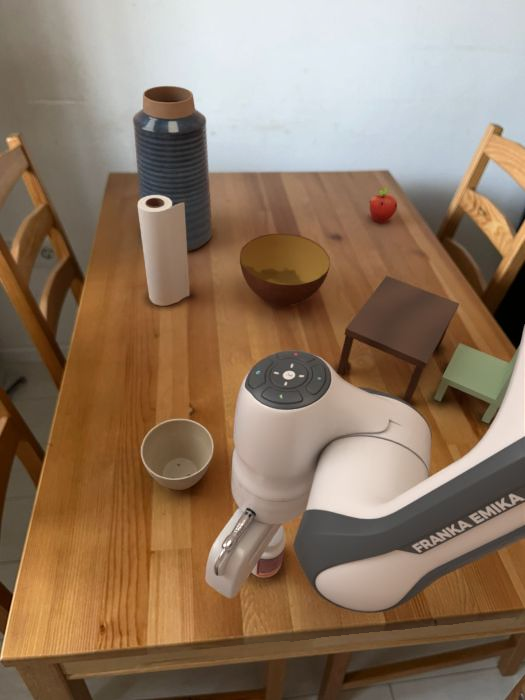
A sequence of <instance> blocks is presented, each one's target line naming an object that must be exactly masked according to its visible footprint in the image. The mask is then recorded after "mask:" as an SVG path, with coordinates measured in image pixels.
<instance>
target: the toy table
mask: <svg viewBox="0 0 525 700" xmlns="http://www.w3.org/2000/svg"><path fill="white" fill-rule="evenodd" d="M459 306H460V303H459V302H457V301H454V300H451V299H448V298H446V297H443V296H440V295H438V294H436V293H433V292H430V291H428V290H425V289H423V288H420V287H418V286H414V285H412V284H409V283H408V282H407V283H406V282H404V281H402V280H399V279H397V278H395V277H392V276H389V275H386V276H385V277H384V278H383V280H382V281H380V283H379V285H378V286H377V287H376V288H375V290H374V291H373V292H372V293H371V295H370V296H369V297H368V299H367V300H366V301H365V303H364V304H363V305H362V306H361V307H360V309H359V310H358V312H357V313H356V314H355V315H354V316H353V318H352V319H351V321H350V322H349V323H348V325H347V326H346V327H345V330H344V333H343V335H344V340H343V346H342V350H341V354H340V357H339V362H338V367H337V371H336V373H337V374H338V375H339V376H340V375H341V376H344V375H345V373H346V371H347V367H348V363H349V360H350V355H351V351H352V347H353V343H354V340H355V341H357V342H360V343H362V344H365V345H367V346H369V347H371V348H373V349H377V350H378V351H381V352H383V353H386V354H387V355H390V356H392V357H394V358H397V359H399V360H401V361H404V362H406V363H408V364H410V365H413V366H415V367H414V370H413V372H412V374H411V377H410V380H409V382H408V385H407V388H406V390H405V392H404V395H403V398H402V400H404V401H406V402H407V403H409V404H410V403H411V401H412V399H413V396H414V393H415V391H416V389H417V386H418V384H419V381H420V379H421V376H422V374H423V372H424V370H425V369H426V366H427V365H428V363H429V361H430V360H431V357H432V356H433V354H434V352H435V351H436V352H439V349H440V348H441V345H442V343H443V340H444V339H445V336H446V334H447V331H448V328H449V326H450V324H451V321H452V319H453V318H454V316H455V314H456V312H457V311H458V309H459Z"/></svg>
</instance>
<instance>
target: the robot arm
mask: <svg viewBox="0 0 525 700" xmlns="http://www.w3.org/2000/svg"><path fill="white" fill-rule="evenodd" d="M519 345H520V347H519V346H518V347H519V352H518V356H517V359H516V363H515V367H514V370H513V373H512V377H511V380H510V383H509V386H508V389H507V391H506V394H505V397H504V399H503V402H502V404H501V407H500V408H498V411H497V412H496V414H495V417H494V419H493V420H492V423H491V424H490V426H489V427H488V429H487V430H486V432H485V433H484V434H483V436H482V437H481V439H480V440H479V441H478V442H477V444H476V445H475V446H474V447H473V448H472V449H470V450H469V451H468V452H467V453H466V454H465V455H464V456H461V458H459V459H457V460H455V461H453V462H452V463H450V464H449V465H447V466H446V467H443V468H442V469H441V470H439V471H438V472H435V473H434V474H432V475H431V473H430V472H431V459H432V458H431V456H432V454H431V453H432V435H433V434H432V429H431V427H430V425H429V423H428V421H427V419H426V418H425V417H424V416H423V414H422V413H421V412H420V411H419V410H418V409H416V407H414V406H413V405H412V404H410V403H407V402H406V401H404V400H403V398H400V397H399V396H395V395H392V394H389V393H387V392H384V391H380V390H377V389H372V388H368V387H359V386H355V385H353V384H351V383H350V382H348V381H346V380H345V379H343V378H342V377H341V376H340V374H338V373H337V371H336V370H335V369H334V368H333V367H332V365H330V363H328V362H327V361H326V360H325V359H323V358H322V357H320V356H318V355H316V354H314V353H311V352H308V351H304V350H297V349H294V350H292V349H289V350H282V351H277V352H273V353H271V354H270V355H267V356H265V357H264V358H262V359H261V360H259V361H258V362H256V364H254V365H253V366H252V367H251V369H250V370H249V371H248V372H247V374H246V375H245V376H244V378H243V381H242V383H241V385H240V388H239V391H238V394H237V398H236V404H235V409H234V420H233V432H232V433H233V434H232V435H233V436H232V437H233V445H234V449H233V451H232V452H233V453H232V458H231V483H230V485H231V486H230V487H231V488H230V489H231V494H232V497H233V499H234V502H235V503H236V506H237V509H236V510H235V512H234V513H233V514H232V516H231V518H229V520H228V522H227V523H226V524H225V525H224V527H223V529H221V531H220V532H219V534H218V536H217V537H216V538H215V540H214V541H213V544H212V545H211V548H210V550H209V553H208V557H207V562H206V567H205V575H204V577H205V578H204V579H205V582H206V584H207V585H208V586H209V587H210V588H212V589H213V590H214V591H216V592H217V593H219V594H220V595H222V596H223V597H225V598H226V599H233V598H235V597H236V596H237V595H238V594H239V592H240V590H241V589H242V587H243V586H244V584H245V583H246V581H247V579H248V578H249V576H250V575H251V574H252V570H253V569H254V567H255V566H256V564H257V562H258V561H259V559H260V558H261V556H262V555H263V553H264V551H265V550H266V548H267V547H268V545H269V544H270V542H271V540H272V539H273V537H274V536H275V534H276V533H277V531H278V529H279V528H280V526H281V525H283V524H287V523H291V522H292V521H295V520H296V519H298V518H300V517H301V520H300V522H299V525H298V528H297V530H296V534H295V537H294V540H293V543H292V549H293V552H294V555H295V557H296V559H297V562H298V564H299V567H300V568H301V570H302V572H303V574H304V576H305V577H306V579H307V581H308V583H309V584H310V585H311V587H312V589H313V590H314V591H315V592H316V593H317V595H318V596H319V597H320V598H322V599H323V600H324V601H326V602H328V603H329V604H331V605H332V606H333V605H334V606H335V607H337V608H340V609H342V610H347V611H349V612H355V613H363V614H364V613H365V614H376V613H384V612H389V611H391V610H394V609H397V608H399V607H400V606H402V605H405V604H406V603H407V602H410V601H411V600H412V599H414V598H415V597H417V596H418V595H419V594H421V593H422V592H423V591H424V590H426V589H427V588H428V587H429V586H431V585H432V584H433V583H434V582H436V581H437V580H439V579H442V578H443V577H444V576H446V575H449V574H450V573H453V572H455V571H457V570H460V569H461V568H463V567H466V566H468V565H470V564H472V563H475V562H476V561H478V560H481V559H483V558H485V557H488V556H490V555H492V554H494V553H497V552H498V551H501V550H503V549H505V548H507V547H509V546H511V545H514V544H516V543H518V542H520V541H523V540H525V325H524V326H523V330H522V335H521V340H520V343H519Z"/></svg>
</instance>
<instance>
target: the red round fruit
mask: <svg viewBox="0 0 525 700" xmlns="http://www.w3.org/2000/svg"><path fill="white" fill-rule="evenodd" d="M388 190H389V188H385V189H379V190H378V193H379V194H378V195H375V196H373V197H372V198H371V200H370V201H369V212H370V217H371V219H372V220H373V222H375V223H379V224H386V223H387V222H388V221H389V220H390V219H392V217H393V216H394V215H395V213H396V211H397V210H398V209H397V208H398V201H397V199H396V198H395V196H393V195H389V194H387V192H388Z"/></svg>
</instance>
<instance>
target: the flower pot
mask: <svg viewBox="0 0 525 700" xmlns="http://www.w3.org/2000/svg"><path fill="white" fill-rule="evenodd" d="M214 450H215V444H214V440H213V437H212V434H211V433H210V431H209V430H208V429H207V428H206V427H205V426H203V425H202V424H201V423H199V422H197V421H194V420H192V419H188V418H171V419H168V420H165V421H162V422H160V423H158V424H157V425H155V426H154V427H152V428H151V429H150V430H149V431H148V432H147V434H146V435H145V437H144V438H143V440H142V442H141V446H140V458H141V460H142V464H143V466H144V468H145V469H146V471H147V472H148V474H149V475H150V476H151V478H152V479H154V481H155V482H156V483H158V484H159V485H160V486H162V487H164V488H167V489H170V490H173V491H182V490H187V489H190V488H191V487H192V486H194V485H196V484H197V483H198V482H199V481H200V480H201V479H202V478H203V477H204V476H205V475H206V472H207V471H208V469H209V467H210V465H211V462H212V459H213V456H214Z"/></svg>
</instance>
